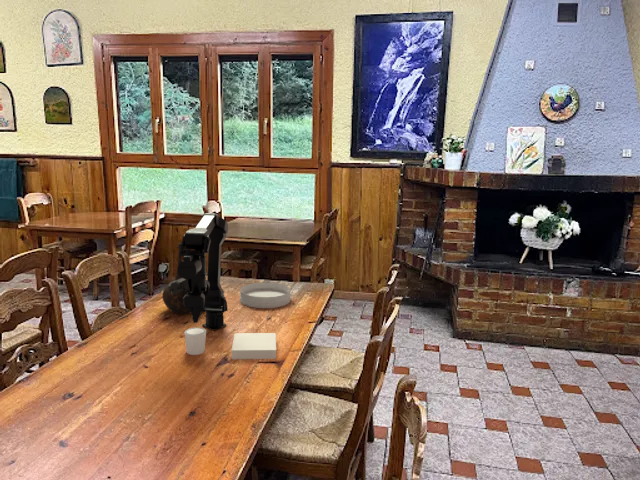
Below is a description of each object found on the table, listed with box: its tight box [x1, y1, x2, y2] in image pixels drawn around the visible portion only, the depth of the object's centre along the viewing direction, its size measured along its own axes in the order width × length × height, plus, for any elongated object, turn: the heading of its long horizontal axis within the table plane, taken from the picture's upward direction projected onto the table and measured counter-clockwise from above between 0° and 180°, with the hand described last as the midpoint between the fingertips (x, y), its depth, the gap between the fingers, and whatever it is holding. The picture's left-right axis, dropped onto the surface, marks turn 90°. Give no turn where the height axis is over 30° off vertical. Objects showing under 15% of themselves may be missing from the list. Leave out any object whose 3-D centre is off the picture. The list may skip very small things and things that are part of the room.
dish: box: [239, 281, 291, 309], centre depth 211 cm, size 22×22×5 cm
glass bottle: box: [162, 241, 191, 315], centre depth 192 cm, size 18×18×28 cm
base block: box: [231, 332, 277, 360], centre depth 159 cm, size 14×14×3 cm
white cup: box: [183, 327, 207, 356], centre depth 156 cm, size 7×7×7 cm
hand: (197, 317), depth 155 cm, fingers open, 9 cm apart
